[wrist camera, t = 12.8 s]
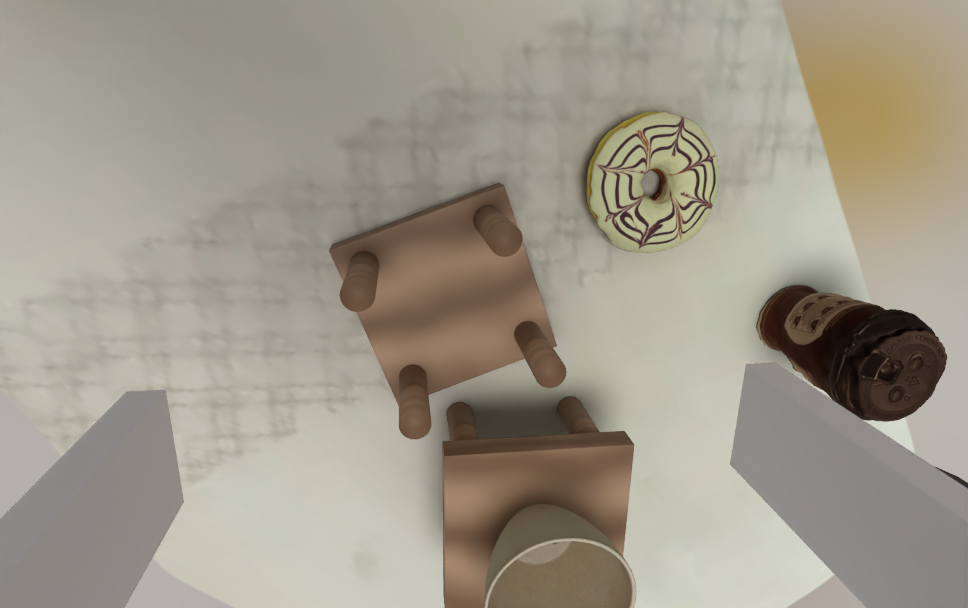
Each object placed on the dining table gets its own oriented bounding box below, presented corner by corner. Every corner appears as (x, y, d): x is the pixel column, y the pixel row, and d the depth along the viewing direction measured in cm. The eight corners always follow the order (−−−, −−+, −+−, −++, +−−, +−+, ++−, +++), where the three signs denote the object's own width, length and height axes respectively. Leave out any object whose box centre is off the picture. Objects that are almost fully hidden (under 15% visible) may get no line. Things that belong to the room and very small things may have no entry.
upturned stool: (332, 245, 46) (314, 277, 37) (499, 182, 46) (525, 199, 37) (398, 395, 51) (398, 458, 41) (551, 337, 51) (585, 387, 42)
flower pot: (589, 458, 43) (624, 521, 37) (610, 564, 47) (645, 640, 40) (457, 494, 43) (468, 565, 36) (487, 599, 46) (502, 683, 39)
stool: (436, 393, 51) (444, 456, 42) (592, 386, 53) (634, 444, 44) (437, 529, 55) (445, 614, 46) (582, 518, 57) (618, 597, 48)
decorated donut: (611, 268, 50) (627, 280, 47) (557, 154, 47) (570, 157, 43) (720, 208, 50) (744, 215, 46) (674, 89, 46) (697, 86, 43)
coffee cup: (731, 300, 52) (833, 356, 40) (814, 253, 52) (942, 295, 40) (763, 376, 55) (868, 450, 43) (842, 332, 55) (970, 394, 43)
